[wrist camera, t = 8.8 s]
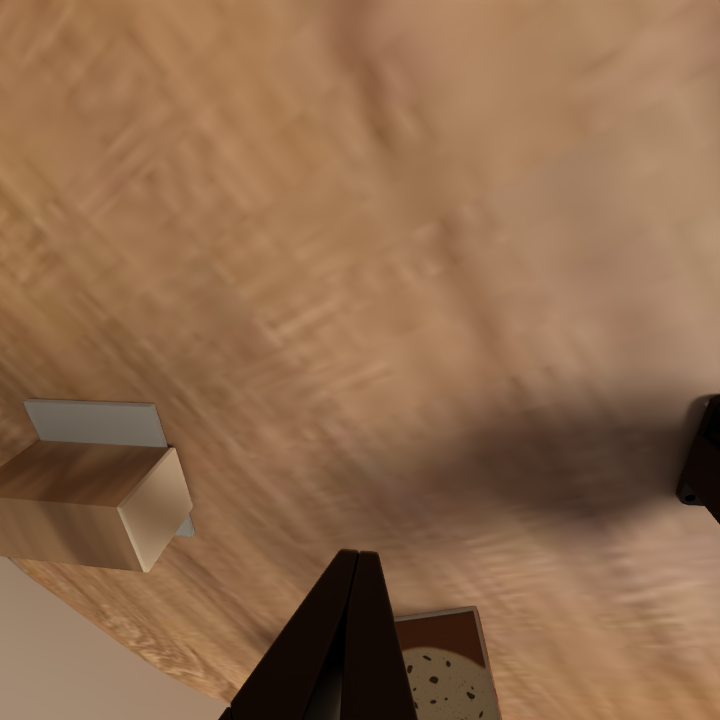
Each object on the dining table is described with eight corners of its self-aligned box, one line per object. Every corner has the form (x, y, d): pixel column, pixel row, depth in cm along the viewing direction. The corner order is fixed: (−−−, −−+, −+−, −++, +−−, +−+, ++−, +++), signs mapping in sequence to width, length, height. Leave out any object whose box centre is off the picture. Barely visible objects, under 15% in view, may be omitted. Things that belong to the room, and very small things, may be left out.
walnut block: (121, 507, 21) (-39, 494, 23) (148, 572, 23) (0, 556, 25) (175, 447, 25) (38, 440, 27) (193, 506, 28) (65, 496, 29)
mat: (154, 403, 25) (150, 407, 24) (195, 532, 29) (192, 536, 29) (28, 398, 26) (22, 401, 26) (86, 522, 31) (82, 526, 30)
